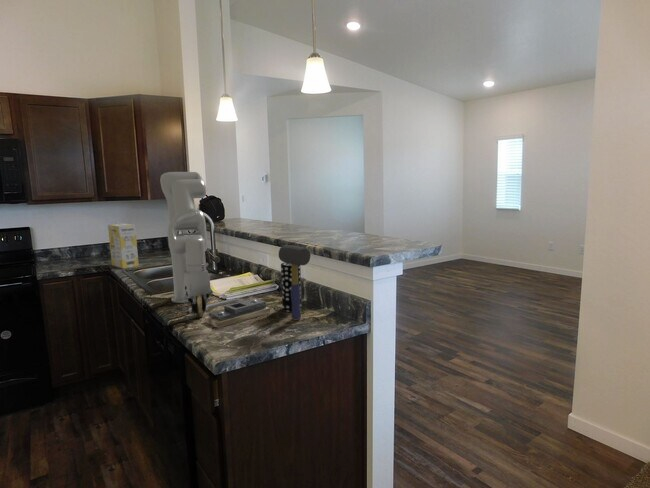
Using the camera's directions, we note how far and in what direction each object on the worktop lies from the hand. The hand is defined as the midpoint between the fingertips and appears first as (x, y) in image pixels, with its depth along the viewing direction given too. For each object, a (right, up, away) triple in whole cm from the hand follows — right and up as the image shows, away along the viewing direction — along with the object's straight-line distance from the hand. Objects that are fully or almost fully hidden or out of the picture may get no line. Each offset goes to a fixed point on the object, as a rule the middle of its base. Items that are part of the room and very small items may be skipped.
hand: (199, 311), depth 176 cm
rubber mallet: (+41, -3, -5) cm, 41 cm away
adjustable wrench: (+3, -1, +15) cm, 16 cm away
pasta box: (-85, +13, +115) cm, 143 cm away
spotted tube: (+38, -1, +9) cm, 39 cm away
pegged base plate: (+16, 0, -1) cm, 17 cm away
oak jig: (+16, -2, -1) cm, 17 cm away
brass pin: (0, -2, 0) cm, 2 cm away
